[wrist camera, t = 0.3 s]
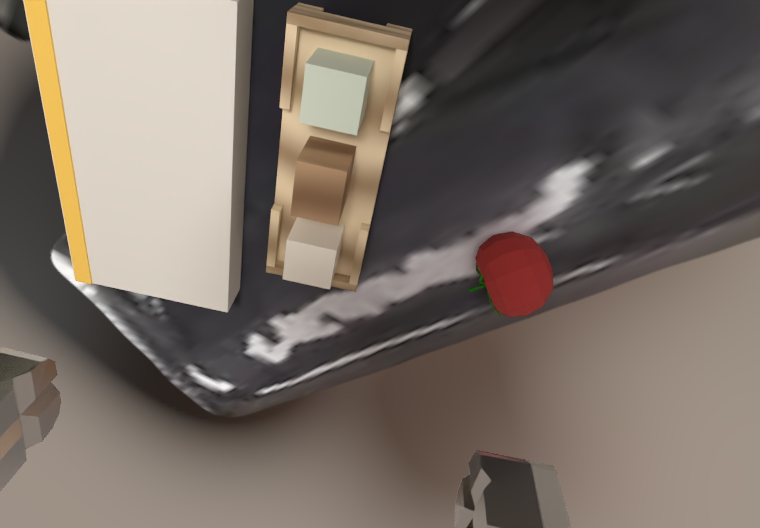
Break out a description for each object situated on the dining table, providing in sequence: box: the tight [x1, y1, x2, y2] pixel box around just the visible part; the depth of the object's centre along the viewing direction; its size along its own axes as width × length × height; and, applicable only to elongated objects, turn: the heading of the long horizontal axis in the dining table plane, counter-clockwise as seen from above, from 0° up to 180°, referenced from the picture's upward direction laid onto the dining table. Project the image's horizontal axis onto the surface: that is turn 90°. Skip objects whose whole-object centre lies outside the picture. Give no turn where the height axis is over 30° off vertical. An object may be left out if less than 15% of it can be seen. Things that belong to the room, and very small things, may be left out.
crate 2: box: [283, 217, 345, 289], centre depth 49 cm, size 4×4×4 cm
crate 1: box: [299, 47, 374, 136], centre depth 41 cm, size 4×4×4 cm
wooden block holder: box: [266, 3, 412, 292], centre depth 46 cm, size 24×9×8 cm, turn 169°
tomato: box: [468, 232, 553, 317], centre depth 50 cm, size 8×8×8 cm
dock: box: [23, 0, 254, 312], centre depth 48 cm, size 30×16×4 cm, turn 169°
